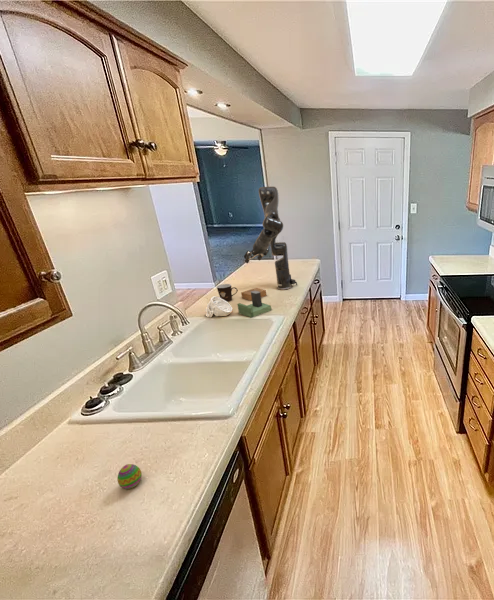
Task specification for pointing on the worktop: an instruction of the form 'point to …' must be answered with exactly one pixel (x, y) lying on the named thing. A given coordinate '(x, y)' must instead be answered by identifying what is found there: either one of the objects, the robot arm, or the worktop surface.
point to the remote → (256, 298)
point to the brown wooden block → (248, 293)
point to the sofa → (253, 309)
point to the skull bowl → (218, 307)
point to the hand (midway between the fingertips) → (252, 260)
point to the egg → (129, 476)
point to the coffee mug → (225, 291)
